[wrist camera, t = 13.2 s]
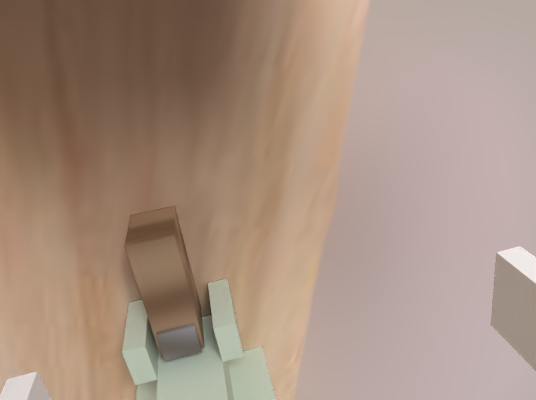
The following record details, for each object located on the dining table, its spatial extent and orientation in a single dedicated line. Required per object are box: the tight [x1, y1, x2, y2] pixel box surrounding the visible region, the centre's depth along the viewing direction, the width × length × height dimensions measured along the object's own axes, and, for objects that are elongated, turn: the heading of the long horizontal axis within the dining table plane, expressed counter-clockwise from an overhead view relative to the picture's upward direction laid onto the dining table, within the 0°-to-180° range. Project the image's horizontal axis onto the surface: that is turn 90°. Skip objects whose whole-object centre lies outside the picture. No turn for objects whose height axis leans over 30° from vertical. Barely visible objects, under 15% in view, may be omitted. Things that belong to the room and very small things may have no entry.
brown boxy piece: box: [125, 206, 205, 361], centre depth 41 cm, size 12×4×6 cm, turn 9°
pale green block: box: [122, 278, 276, 400], centre depth 41 cm, size 12×14×14 cm
